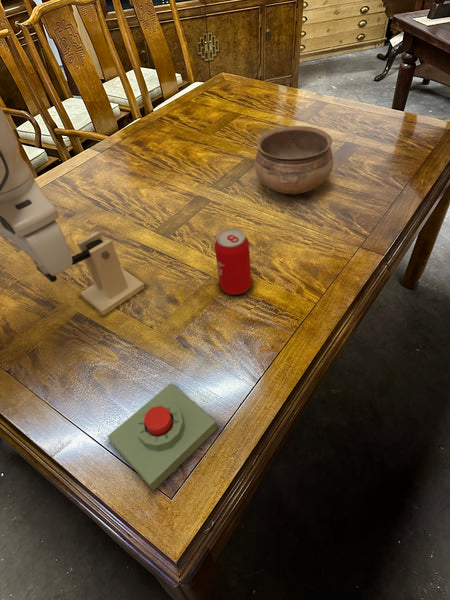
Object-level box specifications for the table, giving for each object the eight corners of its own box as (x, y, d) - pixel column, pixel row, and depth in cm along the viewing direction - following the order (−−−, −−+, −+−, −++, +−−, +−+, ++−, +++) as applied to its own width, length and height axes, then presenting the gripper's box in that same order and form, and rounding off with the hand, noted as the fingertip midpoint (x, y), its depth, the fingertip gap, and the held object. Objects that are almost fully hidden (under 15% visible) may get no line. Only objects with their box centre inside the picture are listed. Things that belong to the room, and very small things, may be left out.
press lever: (52, 286, 70) (48, 274, 69) (38, 273, 73) (34, 262, 72) (112, 256, 77) (110, 245, 75) (97, 246, 80) (95, 235, 78)
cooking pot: (328, 217, 96) (334, 168, 88) (248, 213, 100) (245, 166, 92) (331, 164, 113) (336, 119, 105) (262, 163, 117) (261, 119, 109)
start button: (157, 441, 57) (155, 434, 56) (141, 424, 59) (138, 418, 58) (177, 422, 58) (175, 416, 57) (161, 407, 60) (159, 401, 59)
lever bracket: (104, 315, 80) (82, 264, 71) (82, 296, 84) (58, 246, 75) (145, 287, 85) (129, 236, 76) (122, 271, 89) (104, 221, 80)
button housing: (153, 491, 56) (147, 478, 53) (111, 443, 61) (103, 430, 58) (217, 429, 61) (214, 415, 58) (173, 390, 67) (168, 375, 64)
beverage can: (236, 271, 86) (231, 222, 77) (258, 285, 82) (255, 235, 74) (213, 286, 83) (206, 238, 75) (235, 301, 79) (230, 252, 71)
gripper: (-39, 185, 65) (2, 254, 75) (19, 233, 54) (58, 306, 64) (-1, 169, 68) (34, 237, 78) (62, 211, 57) (93, 285, 67)
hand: (45, 269), depth 71 cm, fingers closed
